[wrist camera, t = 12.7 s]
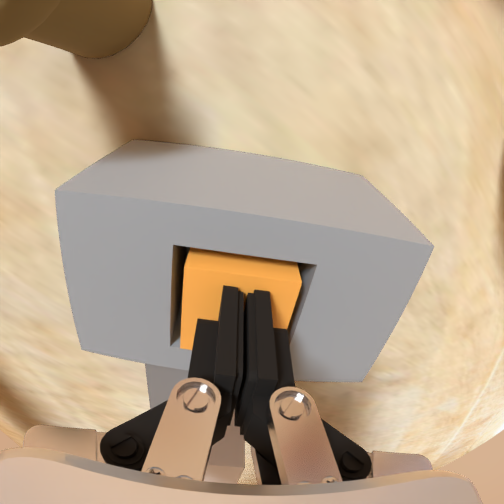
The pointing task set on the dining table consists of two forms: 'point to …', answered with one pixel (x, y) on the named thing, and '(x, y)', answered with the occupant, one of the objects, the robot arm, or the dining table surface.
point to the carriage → (224, 451)
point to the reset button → (237, 275)
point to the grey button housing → (233, 251)
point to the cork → (75, 24)
